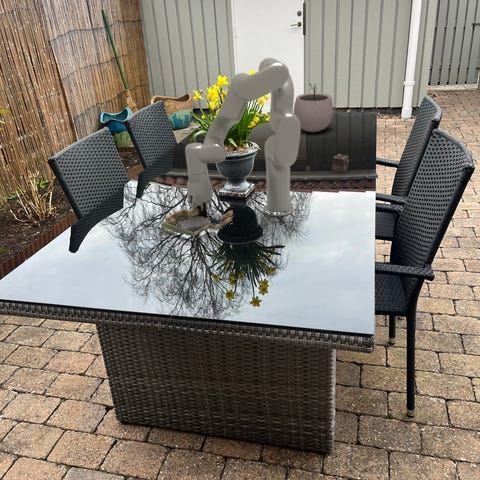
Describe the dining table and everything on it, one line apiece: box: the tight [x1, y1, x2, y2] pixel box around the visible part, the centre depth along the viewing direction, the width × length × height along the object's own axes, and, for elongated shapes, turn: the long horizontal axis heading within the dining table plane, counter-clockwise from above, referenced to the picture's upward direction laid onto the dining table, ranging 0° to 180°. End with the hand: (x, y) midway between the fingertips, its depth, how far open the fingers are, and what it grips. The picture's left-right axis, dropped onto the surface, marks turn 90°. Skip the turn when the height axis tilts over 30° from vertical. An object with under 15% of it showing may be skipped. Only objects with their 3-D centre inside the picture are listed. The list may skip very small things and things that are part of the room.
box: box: [331, 153, 350, 174], centre depth 234 cm, size 6×6×7 cm
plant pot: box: [293, 82, 334, 133], centre depth 291 cm, size 24×24×30 cm
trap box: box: [162, 205, 234, 236], centre depth 190 cm, size 24×23×4 cm
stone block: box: [176, 215, 211, 231], centre depth 187 cm, size 12×5×10 cm
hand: (203, 217), depth 193 cm, fingers closed
